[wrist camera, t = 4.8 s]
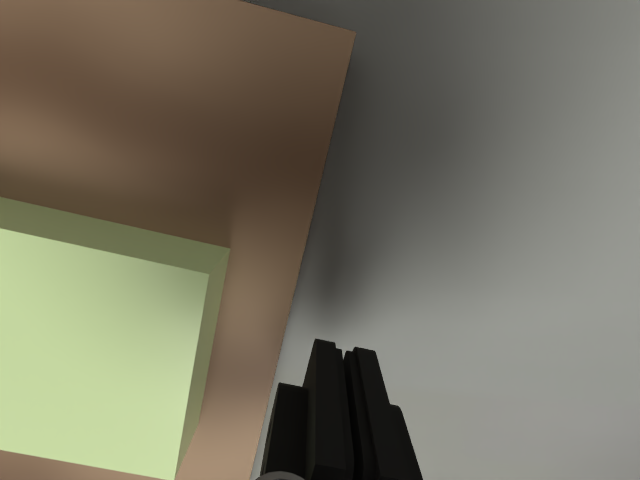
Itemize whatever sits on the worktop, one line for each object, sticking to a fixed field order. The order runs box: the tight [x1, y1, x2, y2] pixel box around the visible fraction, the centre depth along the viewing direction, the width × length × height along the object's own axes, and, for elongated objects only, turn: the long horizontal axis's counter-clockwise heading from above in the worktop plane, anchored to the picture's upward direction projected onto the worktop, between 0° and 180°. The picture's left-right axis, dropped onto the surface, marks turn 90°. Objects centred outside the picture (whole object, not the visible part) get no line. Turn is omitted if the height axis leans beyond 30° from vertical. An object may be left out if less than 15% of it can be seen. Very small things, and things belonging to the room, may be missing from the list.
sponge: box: [0, 197, 230, 480], centre depth 9 cm, size 6×9×2 cm, turn 76°
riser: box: [0, 0, 356, 480], centre depth 11 cm, size 18×12×2 cm, turn 167°
